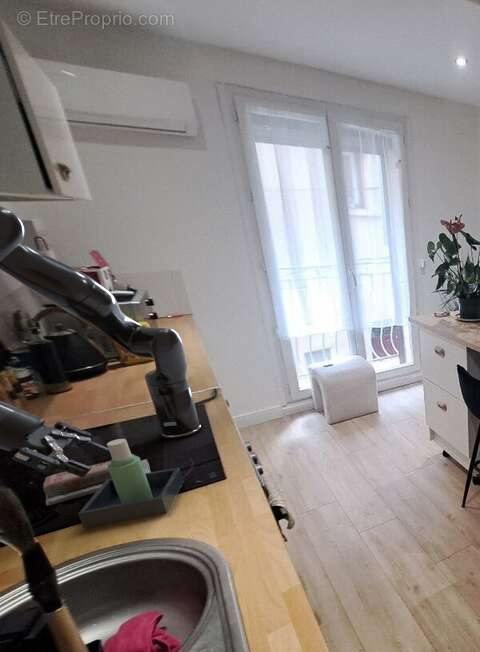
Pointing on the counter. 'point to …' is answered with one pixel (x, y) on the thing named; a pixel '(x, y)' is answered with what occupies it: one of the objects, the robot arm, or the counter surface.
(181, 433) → the robot arm
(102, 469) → the packaged product
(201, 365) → the counter surface
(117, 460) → the bottle
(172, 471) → the tray
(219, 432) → the counter surface
